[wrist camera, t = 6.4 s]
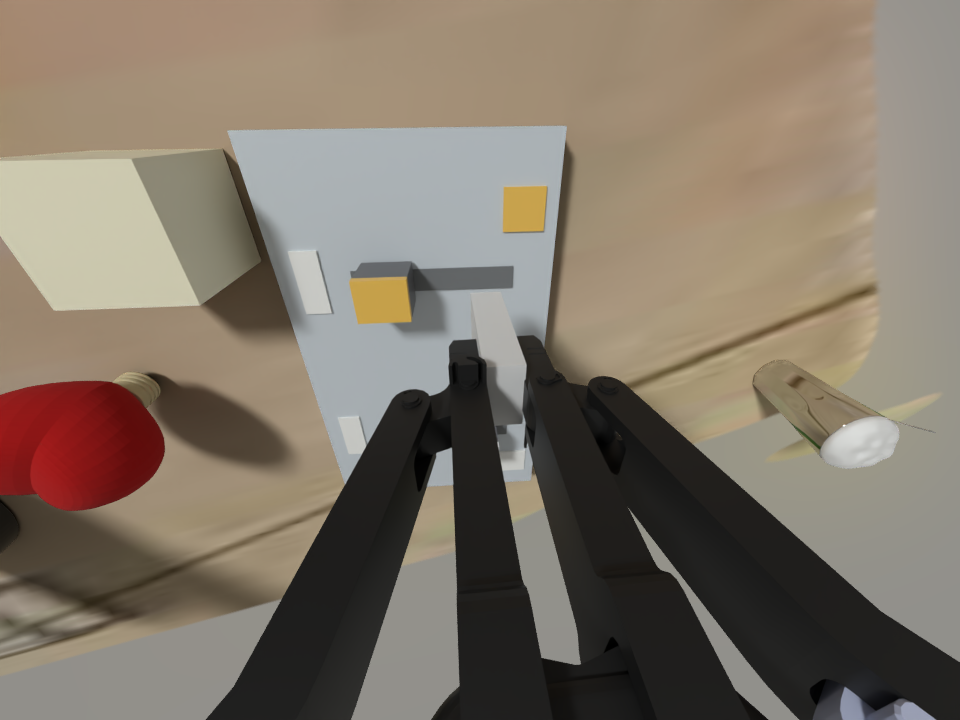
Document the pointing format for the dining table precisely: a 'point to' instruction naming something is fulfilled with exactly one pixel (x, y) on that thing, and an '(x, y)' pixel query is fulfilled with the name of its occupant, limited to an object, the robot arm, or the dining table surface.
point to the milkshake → (828, 416)
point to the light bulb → (80, 441)
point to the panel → (404, 255)
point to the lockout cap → (125, 226)
